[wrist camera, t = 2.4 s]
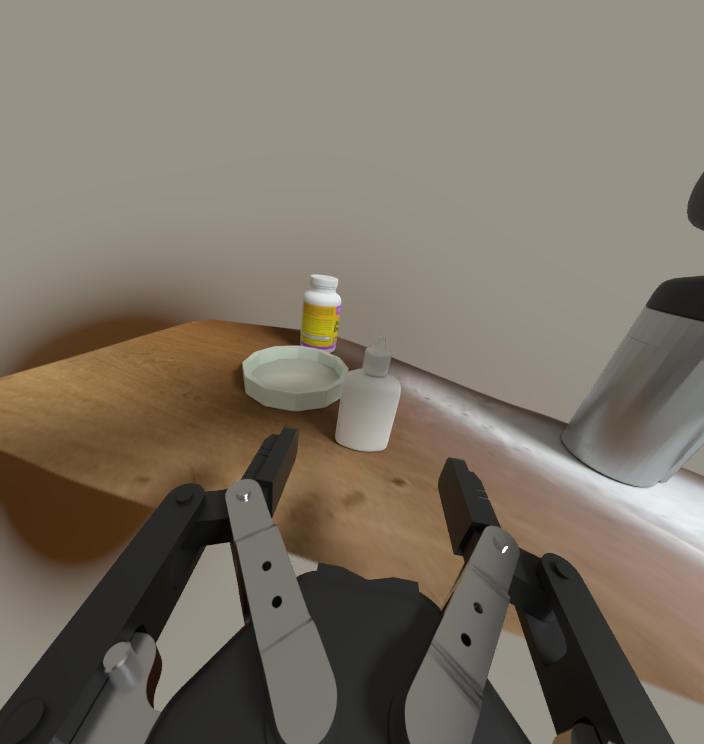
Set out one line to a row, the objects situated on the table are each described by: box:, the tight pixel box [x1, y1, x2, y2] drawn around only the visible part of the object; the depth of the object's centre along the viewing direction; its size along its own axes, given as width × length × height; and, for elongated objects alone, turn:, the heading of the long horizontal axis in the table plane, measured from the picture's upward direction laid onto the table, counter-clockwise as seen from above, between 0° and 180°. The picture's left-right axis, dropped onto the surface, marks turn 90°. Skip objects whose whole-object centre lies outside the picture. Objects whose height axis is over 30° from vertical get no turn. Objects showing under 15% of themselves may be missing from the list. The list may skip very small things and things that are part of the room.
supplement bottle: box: [300, 275, 341, 353], centre depth 46 cm, size 7×7×13 cm
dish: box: [242, 346, 349, 411], centre depth 37 cm, size 14×14×2 cm
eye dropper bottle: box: [335, 336, 401, 452], centre depth 26 cm, size 4×6×12 cm
